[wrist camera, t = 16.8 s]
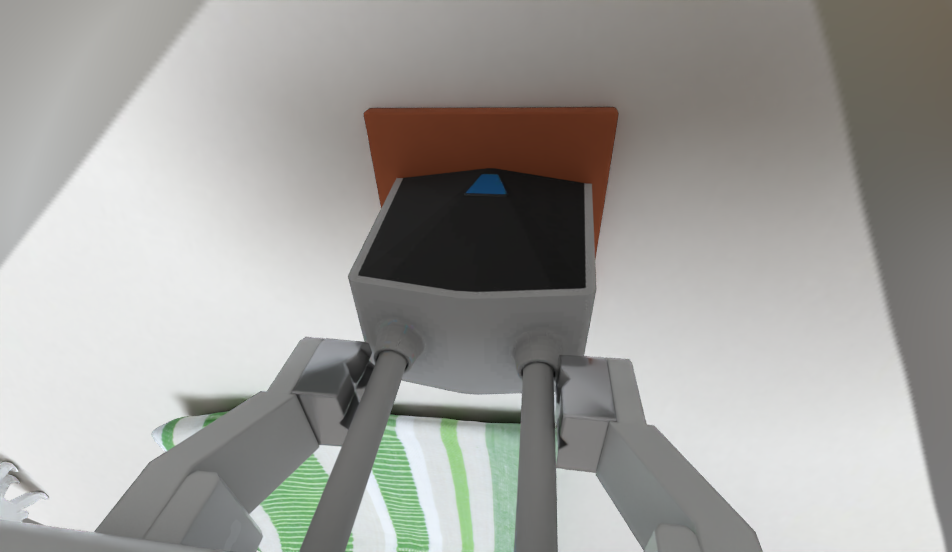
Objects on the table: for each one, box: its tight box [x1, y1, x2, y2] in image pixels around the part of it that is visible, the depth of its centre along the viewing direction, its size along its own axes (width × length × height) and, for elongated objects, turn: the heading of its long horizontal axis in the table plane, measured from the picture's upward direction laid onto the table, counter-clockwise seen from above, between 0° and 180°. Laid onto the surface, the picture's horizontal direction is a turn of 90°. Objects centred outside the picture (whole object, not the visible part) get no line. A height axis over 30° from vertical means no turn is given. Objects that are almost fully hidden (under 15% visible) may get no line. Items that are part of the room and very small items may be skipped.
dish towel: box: [152, 411, 556, 552], centre depth 28 cm, size 18×23×3 cm
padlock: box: [299, 168, 596, 552], centre depth 9 cm, size 7×4×15 cm, turn 91°
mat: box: [364, 107, 618, 258], centre depth 16 cm, size 8×8×1 cm
